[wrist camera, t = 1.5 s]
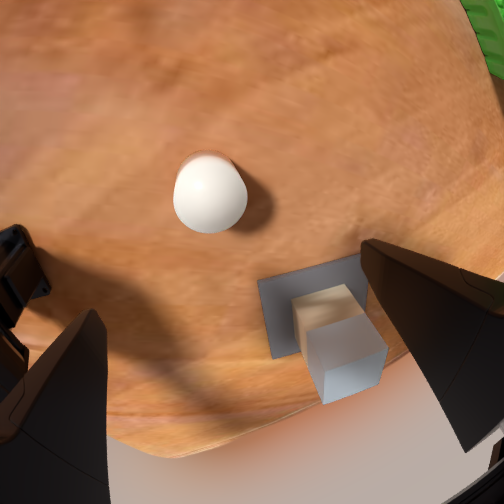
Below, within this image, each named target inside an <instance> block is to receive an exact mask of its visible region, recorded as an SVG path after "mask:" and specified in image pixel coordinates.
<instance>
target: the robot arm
mask: <svg viewBox="0 0 504 504" xmlns="http://www.w3.org/2000/svg"><path fill="white" fill-rule="evenodd" d="M15 230H16V231H17V233H16V232H15ZM360 265H361V268H362V270H363V272H364V274H365V276H366V278H367V280H368V282H369V283H370V285H371V287H372V289H373V291H374V293H375V295H376V297H377V299H378V301H379V303H380V304H381V306H382V308H383V309H384V311H385V312H386V314H387V315H388V317H389V318H390V320H391V322H392V323H393V325H394V326H395V328H396V329H397V331H398V333H399V334H400V336H401V338H402V339H403V341H404V342H405V344H406V346H407V347H408V349H409V351H410V352H411V354H412V356H413V357H414V359H415V361H416V362H417V364H418V366H419V367H420V369H421V371H422V373H423V374H424V376H425V378H426V379H427V381H428V383H429V385H430V387H431V388H432V390H433V392H434V394H435V396H436V397H437V399H438V401H439V403H440V405H441V407H442V409H443V411H444V413H445V415H446V416H447V418H448V420H449V422H450V424H451V426H452V428H453V430H454V432H455V434H456V436H457V438H458V440H459V442H460V444H461V446H462V448H463V450H464V452H465V453H467V452H468V451H470V450H471V449H473V448H474V447H475V446H477V445H478V444H479V443H481V442H482V441H483V440H485V439H486V438H487V437H488V436H490V435H491V434H492V433H493V432H495V431H496V430H497V429H498V428H499V427H500V429H501V430H502V432H503V434H504V283H503V282H500V281H497V280H494V279H490V278H487V277H484V276H481V275H478V274H475V273H473V272H470V271H467V270H464V269H462V268H460V269H459V268H458V267H456V266H453V265H451V264H448V263H445V262H442V261H439V260H436V259H434V258H431V257H428V256H425V255H422V254H419V253H416V252H413V251H410V250H407V249H404V248H401V247H398V246H395V245H392V244H389V243H386V242H383V241H380V240H377V239H374V238H371V239H368V240H364V241H362V243H361V253H360ZM45 288H46V289H47V290H46V289H45ZM50 292H51V286H50V284H49V282H48V281H47V279H46V277H45V275H44V273H43V271H42V270H41V268H40V266H39V264H38V262H37V260H36V258H35V256H34V254H33V252H32V250H31V248H30V246H29V244H28V242H27V240H26V237H25V235H24V233H23V231H22V229H21V227H20V226H19V225H18V224H14V225H12V226H10V227H8V228H5V229H3V230H1V231H0V504H111V501H110V491H109V486H108V485H109V481H108V466H107V440H106V407H107V379H108V360H107V330H106V327H105V325H104V323H103V321H102V320H101V318H100V317H99V315H98V313H97V312H96V310H95V309H93V308H91V309H86V310H83V311H82V312H81V313H80V314H79V315H78V316H77V317H76V318H75V319H74V320H73V321H72V322H71V323H70V324H69V325H68V327H67V328H66V329H65V330H64V331H63V332H62V333H61V334H60V335H59V336H58V337H57V339H56V340H55V341H54V342H53V343H52V344H51V345H50V346H49V347H48V349H47V350H46V351H45V352H44V353H43V354H42V355H41V356H40V358H39V359H38V360H37V361H36V362H35V363H34V365H33V366H32V367H31V368H30V369H29V370H28V361H29V349H28V348H27V347H26V346H25V345H23V344H22V343H21V342H20V341H19V340H18V339H17V337H16V336H15V335H14V334H13V333H12V332H11V330H12V328H14V327H15V326H16V324H17V322H18V320H19V318H20V316H21V314H22V312H23V310H24V308H25V307H26V306H27V304H28V303H29V301H30V300H31V299H35V298H38V297H42V296H46V295H49V294H50ZM442 504H504V437H503V438H502V439H501V440H499V441H498V442H497V443H496V444H495V445H494V446H493V451H492V455H491V460H490V464H489V468H488V471H487V472H486V473H484V474H483V475H482V476H481V477H480V478H478V479H477V480H475V481H474V482H473V483H471V484H470V485H469V486H467V487H466V488H464V489H463V490H462V491H460V492H459V493H457V494H456V495H454V496H453V497H451V498H450V499H448V500H447V501H445V502H444V503H442Z"/></svg>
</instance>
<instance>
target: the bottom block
mask: <svg viewBox="0 0 504 504" xmlns="http://www.w3.org/2000/svg"><path fill="white" fill-rule="evenodd" d="M291 303H292V312H293V322H294V332H295V339H296V341H297V343H298V346H299V348H300V350H301V353H302V355H303V358H304V360H305V362H306V365H307V367H308V356H307V336H306V331H310V330H313V329H316V328H320V327H323V326H326V325H329V324H332V323H336V322H339V321H342V320H345V319H348V318H351V317H354V316H357V315H360V314H363V313H365V312H364V311H363V309H362V308H361V306H360V305H359V304H358V302H357V301H356V299H355V298H354V296H353V295H352V294H351V292H350V291H349V289H348V288H347V287H346V285H345V284H342V285H339V286H335V287H332V288H329V289H325V290H322V291H318V292H315V293H311V294H308V295H304V296H300V297H297V298H293V299H291Z"/></svg>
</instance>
